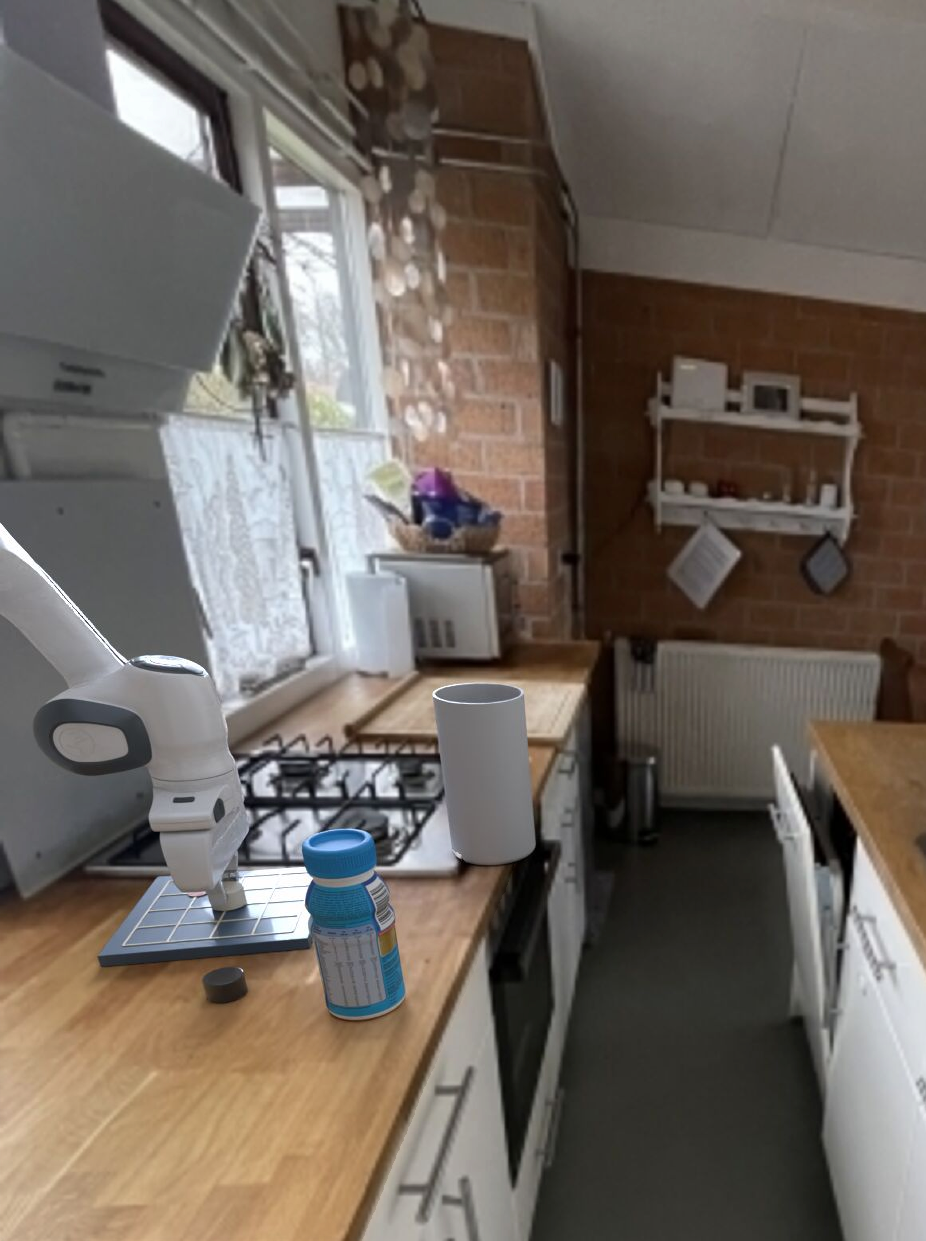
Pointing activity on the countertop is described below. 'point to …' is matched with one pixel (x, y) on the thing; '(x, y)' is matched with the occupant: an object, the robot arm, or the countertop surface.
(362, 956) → the beverage bottle
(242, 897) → the ivory stone
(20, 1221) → the countertop surface
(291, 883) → the board
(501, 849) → the cylinder vase
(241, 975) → the black stone
